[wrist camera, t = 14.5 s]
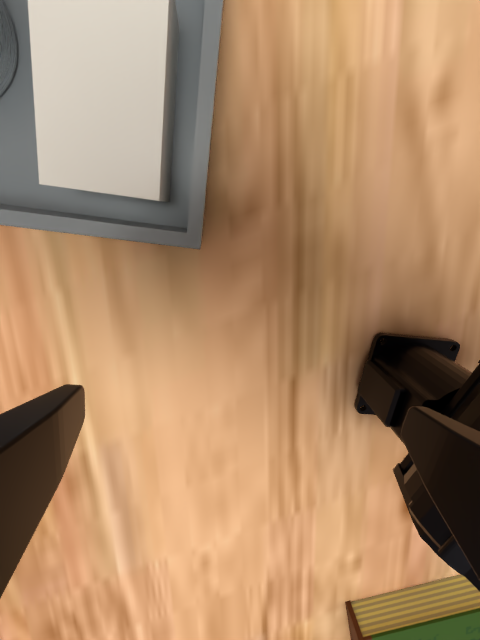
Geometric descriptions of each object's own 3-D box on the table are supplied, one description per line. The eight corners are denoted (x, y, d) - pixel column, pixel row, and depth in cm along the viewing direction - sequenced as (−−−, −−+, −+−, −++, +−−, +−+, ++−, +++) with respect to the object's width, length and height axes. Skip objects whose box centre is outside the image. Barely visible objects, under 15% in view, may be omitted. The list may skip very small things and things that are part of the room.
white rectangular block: (179, 27, 16) (170, -30, 12) (169, 202, 18) (159, 200, 14) (70, 4, 15) (23, -64, 11) (75, 189, 17) (39, 184, 14)
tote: (229, -58, 15) (236, -144, 12) (201, 241, 20) (200, 249, 16) (-215, -170, 13) (-389, -325, 9) (-132, 199, 17) (-226, 196, 14)
